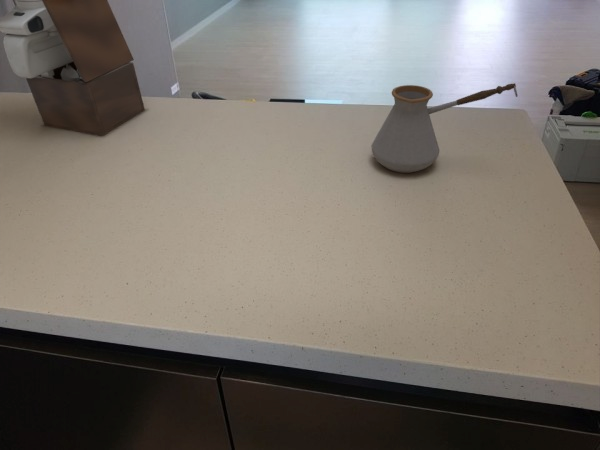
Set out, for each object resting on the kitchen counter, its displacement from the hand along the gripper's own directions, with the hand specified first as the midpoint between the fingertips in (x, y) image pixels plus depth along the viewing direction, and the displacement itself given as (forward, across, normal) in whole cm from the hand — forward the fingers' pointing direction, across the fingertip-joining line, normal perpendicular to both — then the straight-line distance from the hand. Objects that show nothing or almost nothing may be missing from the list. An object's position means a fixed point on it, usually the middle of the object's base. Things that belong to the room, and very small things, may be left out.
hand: (70, 85), depth 94 cm
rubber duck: (+3, 0, 0) cm, 3 cm away
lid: (-12, -1, +8) cm, 14 cm away
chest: (+7, -1, +3) cm, 8 cm away
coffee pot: (+8, -5, +74) cm, 75 cm away
